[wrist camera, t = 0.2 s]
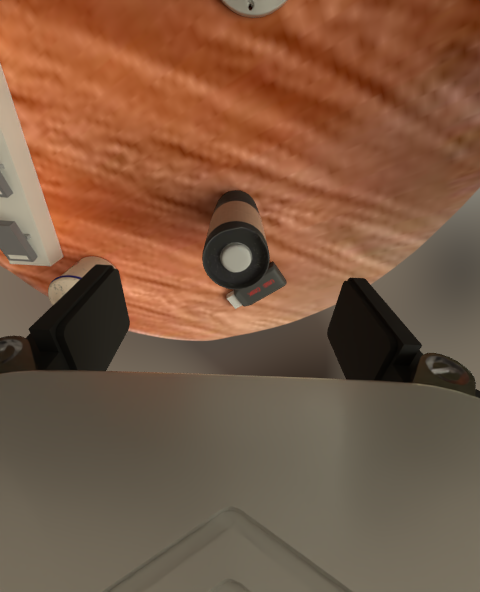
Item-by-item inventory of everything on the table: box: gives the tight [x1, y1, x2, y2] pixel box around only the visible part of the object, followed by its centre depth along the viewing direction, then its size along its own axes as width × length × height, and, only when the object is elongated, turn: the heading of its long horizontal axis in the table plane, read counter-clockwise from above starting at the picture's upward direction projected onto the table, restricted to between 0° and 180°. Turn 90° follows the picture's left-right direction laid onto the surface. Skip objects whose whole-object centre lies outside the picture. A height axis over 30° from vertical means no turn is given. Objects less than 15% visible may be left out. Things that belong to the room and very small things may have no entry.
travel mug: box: [202, 190, 270, 289], centre depth 36 cm, size 8×8×20 cm
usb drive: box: [227, 262, 286, 309], centre depth 52 cm, size 5×12×3 cm, turn 125°
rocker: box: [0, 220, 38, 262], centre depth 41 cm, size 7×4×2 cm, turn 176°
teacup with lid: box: [48, 256, 121, 305], centre depth 47 cm, size 12×9×12 cm
